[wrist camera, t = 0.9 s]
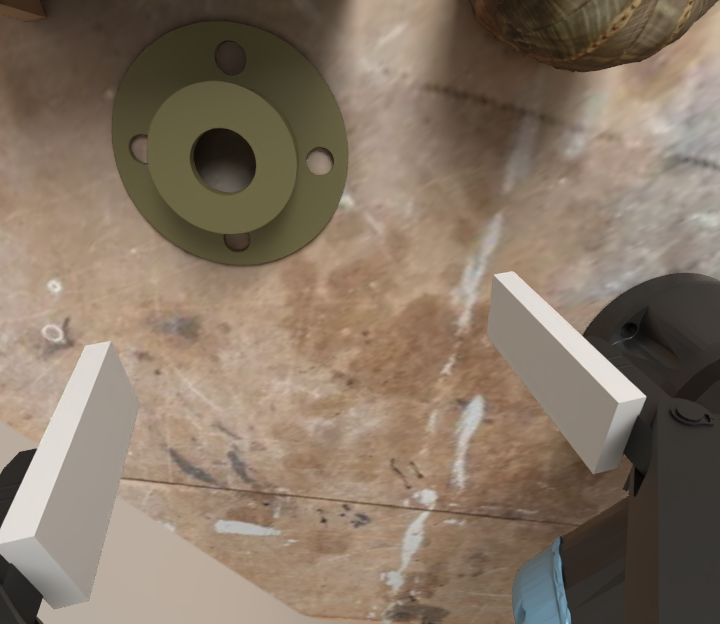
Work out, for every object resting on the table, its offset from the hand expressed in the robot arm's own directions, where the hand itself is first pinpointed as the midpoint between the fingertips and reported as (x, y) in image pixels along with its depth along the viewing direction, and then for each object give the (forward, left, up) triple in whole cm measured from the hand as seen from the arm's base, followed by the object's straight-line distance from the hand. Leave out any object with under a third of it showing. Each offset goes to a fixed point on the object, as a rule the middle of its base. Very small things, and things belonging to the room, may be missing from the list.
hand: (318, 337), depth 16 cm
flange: (+5, +5, -19) cm, 20 cm away
